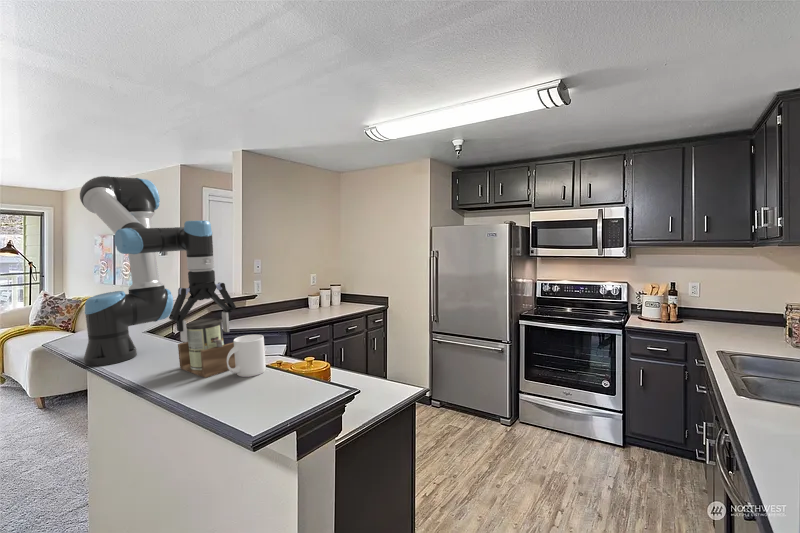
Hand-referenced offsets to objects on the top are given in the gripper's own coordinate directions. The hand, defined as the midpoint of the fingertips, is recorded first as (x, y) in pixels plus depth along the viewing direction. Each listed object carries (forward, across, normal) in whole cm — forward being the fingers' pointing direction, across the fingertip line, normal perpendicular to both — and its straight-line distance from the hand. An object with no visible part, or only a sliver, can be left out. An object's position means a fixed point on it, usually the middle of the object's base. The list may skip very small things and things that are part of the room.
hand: (206, 336), depth 129 cm
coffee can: (+9, 0, -1) cm, 9 cm away
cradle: (+10, 0, -1) cm, 10 cm away
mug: (+10, +3, -17) cm, 20 cm away
